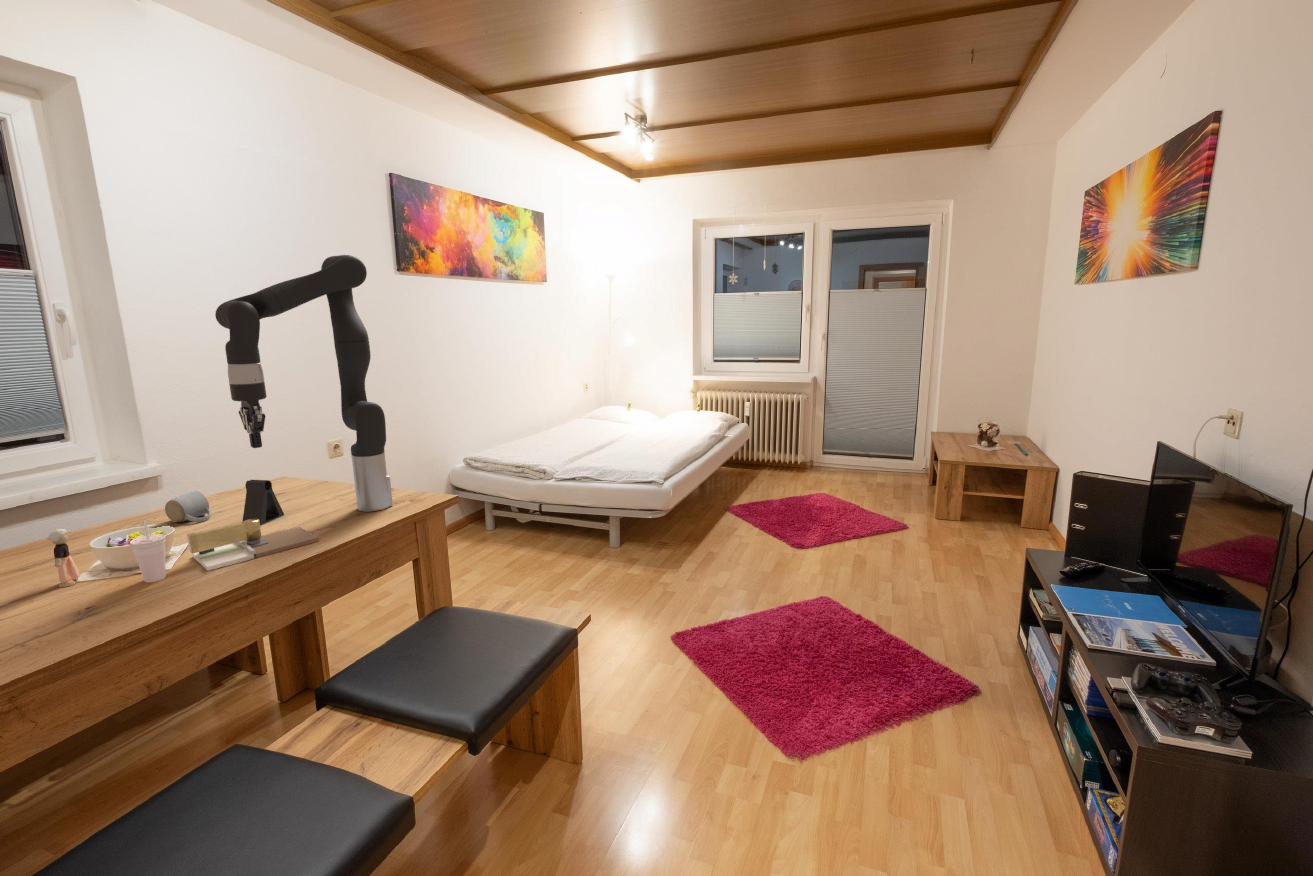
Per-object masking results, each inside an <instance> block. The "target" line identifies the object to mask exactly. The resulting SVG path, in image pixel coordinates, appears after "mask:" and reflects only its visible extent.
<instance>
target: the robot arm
mask: <svg viewBox="0 0 1313 876" xmlns="http://www.w3.org/2000/svg"><path fill="white" fill-rule="evenodd" d="M367 274H368V272H367V267H366V265H365V263H364V262H363V260H361V259H360V258H358V257H357V256H354V255H350V254H340V255H332V256H328V257H327V258H325V259H324V261H323V262H322V264H321V268H320V270H318V271H315V272H313V273H310V274H305V275H303V276H298V277H295V278H291V279H288V280H284V281H282V282H278V283H276V284H273V285H270V286H268V287H265V288H262V289H261V290H258V291H256V292H253V293H250V294H246V295H243V296H240V297H236V298H233V299H230V300H228V301H224V302H223V303H221V304H220V305H218V307H216V310H215V313H214V316H215V320H216V321H217V323H218V324H219V325H220V326H221V327H223V328H225V329H228V330H229V340H228V341H227V342H226V343H225V345H224V347H225V356H226V362H227V376H228V377H227V378H228V384H229V385H228V386H229V391H230V396H231V397H230V398H231V400H232V401H234V402H240V407H239V410H238V414H239V417H240V419H241V422H242V423H241V424H242V426H243V429H244V431H246V433H247V434H248V438H249V444H250V448H253V449H258V448H262V447H263V442H262V436H261V433H262V432H264V428H265V421H266V414H265V413H263V408H262V406H261V405H260V401H261V400H265V399H266V398H267V390H266V383H265V376H264V370H263V367H262V363H261V355H260V349H259V341H260V332H261V331H260V330H261V323H260V322H261V320H262V319H266V318H271V317H272V318H273V317H276V316H279V315H281V314H283V313H286V312H289V311H290V310H293V309H295V308H297V307H299V306H302V305H304V304H306V303H308V302H311V301H313V300H315V299H318V298H320V297H321V298H322V297H323V296H326V299H327V303H328V308H329V313H330V314H329V316H330V323H331V328H332V333H333V344H334V350H335V356H336V360H337V361H336V363H337V370H338V378H339V384H340V407H341V409H340V410H341V411H340V412H341V419H342V422H343V423H344V425H345V426H346V428H348V429H349V430H353V431H356V432H355V433H356V441H355V443H353V444H352V445H351V446H350V455H351V463H352V464H351V465H352V473H353V480H354V488H355V489H354V490H355V497H356V499H355V500H356V507H357V510H358V511H360V512H365V513H366V512H367V513H369V512H376V511H381V510H385V509H387V508H390V507H392V506H394V505H393V504H394V503H393V493H392V485H391V477H390V476H389V474H388V473H387V463H386V454H385V451H386V450H385V446H386V443H387V429H386V428H387V426H386V417H385V412H384V410H383V407H382V406H380V405H379V404H378V403H375V402H372V401H368V399H367V392H366V377H367V373H368V369H369V366H370V362H371V345H370V340H369V333H368V331H367V328H366V326H365V325H364V323H363V321H362V319H361V317H360V316H359V314H358V312H357V310H356V306H355V302H354V295H353V289H356V288H357V287H360V286H361V285H362V284H363V283H365V281H366V279H367V276H368V275H367Z"/></svg>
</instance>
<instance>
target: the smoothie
mask: <svg viewBox="0 0 1313 876" xmlns="http://www.w3.org/2000/svg"><path fill="white" fill-rule="evenodd" d="M143 524H144V531H145V535H143V536H140V537H137V538H134V539H132V540H130V541H129V548H131V549H132V551H133V554H134V556H135V559H136V561H137V565H138V567H139V569H140V573H141V575H142V578H143V580H144V583H156V582H159V581H163V580H164V579H165V578H166V577H167V575H166V571H167V570H166V541H167V538H166V534H162V533H160V534H159V533H157V534H150V530H149V526H148V521H147V520H144V521H143Z"/></svg>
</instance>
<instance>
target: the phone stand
mask: <svg viewBox="0 0 1313 876" xmlns="http://www.w3.org/2000/svg"><path fill="white" fill-rule="evenodd" d="M245 490H246V491H245V492H246V493H245V501H244V506H243V515H242V521H241V522H243V521H245V520H249V519H259V522H260V526H262V525H265V524H267V523H269V522H272V521H275V520H277V519H279V518H281V517H283V516H285V513H284V511H283V508H282V506H281V505H280V502H279V500H278V499H277V497H276V494H275V492H274V490H273V483H272V481H271V480H270V479H269V480H267V479H266V480H265V479H249V480H247V481H245Z"/></svg>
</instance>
